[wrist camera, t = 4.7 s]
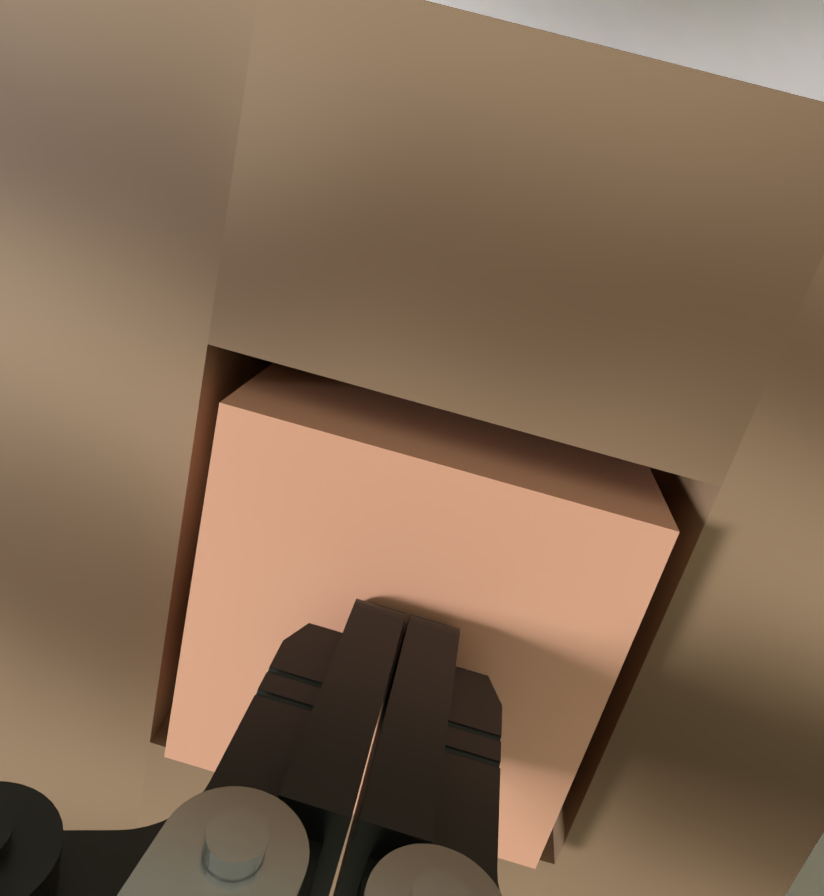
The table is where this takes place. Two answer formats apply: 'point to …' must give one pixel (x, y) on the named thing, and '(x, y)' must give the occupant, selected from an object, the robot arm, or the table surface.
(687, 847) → the block
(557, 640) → the terracotta key
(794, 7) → the table surface
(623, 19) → the table surface
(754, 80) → the table surface
